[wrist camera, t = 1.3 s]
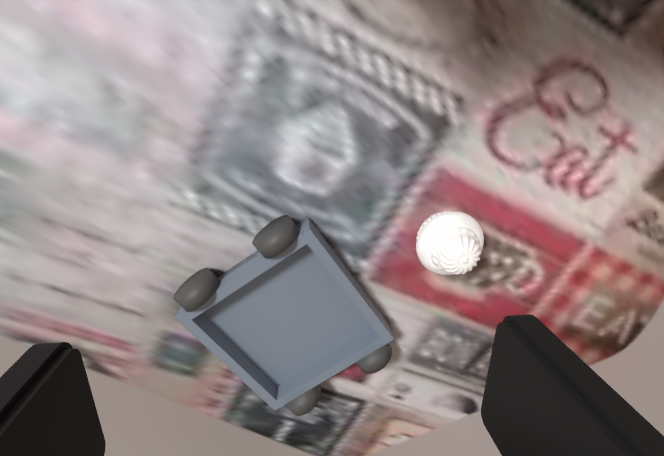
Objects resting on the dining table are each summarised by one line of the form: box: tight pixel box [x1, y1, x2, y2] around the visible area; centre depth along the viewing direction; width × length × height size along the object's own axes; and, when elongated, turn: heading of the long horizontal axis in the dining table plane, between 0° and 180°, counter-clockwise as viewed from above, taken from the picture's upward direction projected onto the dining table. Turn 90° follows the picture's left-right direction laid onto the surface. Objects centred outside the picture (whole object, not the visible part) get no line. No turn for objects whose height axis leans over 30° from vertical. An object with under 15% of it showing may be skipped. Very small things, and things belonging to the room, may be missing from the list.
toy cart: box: [173, 215, 394, 416], centre depth 37 cm, size 15×18×4 cm
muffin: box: [416, 211, 484, 275], centre depth 34 cm, size 6×6×7 cm
